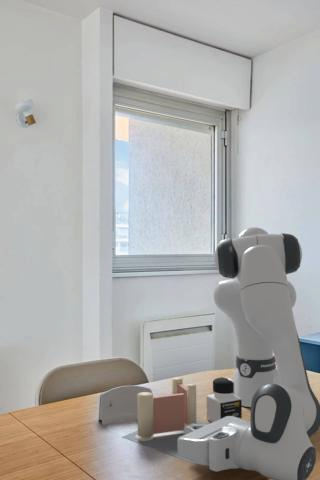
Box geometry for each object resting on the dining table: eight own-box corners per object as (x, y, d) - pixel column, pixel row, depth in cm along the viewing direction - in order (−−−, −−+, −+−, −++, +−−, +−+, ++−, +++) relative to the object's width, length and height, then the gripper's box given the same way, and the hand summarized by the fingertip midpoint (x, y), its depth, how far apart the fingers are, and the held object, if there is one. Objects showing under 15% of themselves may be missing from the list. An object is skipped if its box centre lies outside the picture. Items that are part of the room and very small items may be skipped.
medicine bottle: (220, 428, 128) (220, 383, 129) (206, 420, 135) (206, 377, 135) (242, 424, 131) (241, 380, 132) (227, 416, 138) (226, 374, 138)
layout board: (176, 416, 138) (176, 414, 138) (248, 437, 122) (248, 435, 122) (121, 438, 122) (121, 436, 122) (196, 466, 106) (196, 463, 106)
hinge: (101, 425, 131) (99, 387, 134) (98, 426, 135) (95, 389, 139) (159, 418, 136) (155, 382, 140) (154, 418, 141) (150, 383, 144)
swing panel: (180, 425, 126) (180, 387, 127) (186, 431, 123) (186, 391, 123) (135, 432, 122) (135, 393, 122) (140, 438, 118) (140, 397, 118)
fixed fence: (170, 416, 137) (170, 374, 137) (180, 415, 138) (180, 373, 138) (188, 433, 124) (187, 386, 124) (198, 431, 125) (198, 385, 125)
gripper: (262, 416, 110) (213, 404, 119) (210, 442, 95) (158, 426, 104) (263, 444, 110) (214, 430, 119) (210, 474, 94) (158, 455, 104)
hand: (187, 428), depth 111 cm, fingers closed
